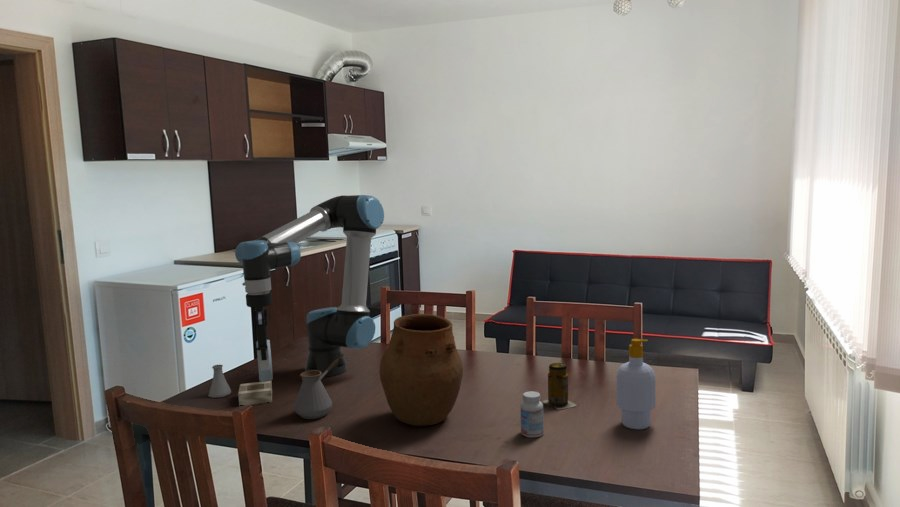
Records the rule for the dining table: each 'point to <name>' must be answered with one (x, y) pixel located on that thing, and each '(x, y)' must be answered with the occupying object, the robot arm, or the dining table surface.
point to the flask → (219, 383)
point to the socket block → (255, 393)
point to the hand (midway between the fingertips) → (265, 367)
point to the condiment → (558, 387)
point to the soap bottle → (636, 388)
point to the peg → (265, 374)
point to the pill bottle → (532, 415)
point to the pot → (421, 369)
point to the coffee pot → (314, 394)
